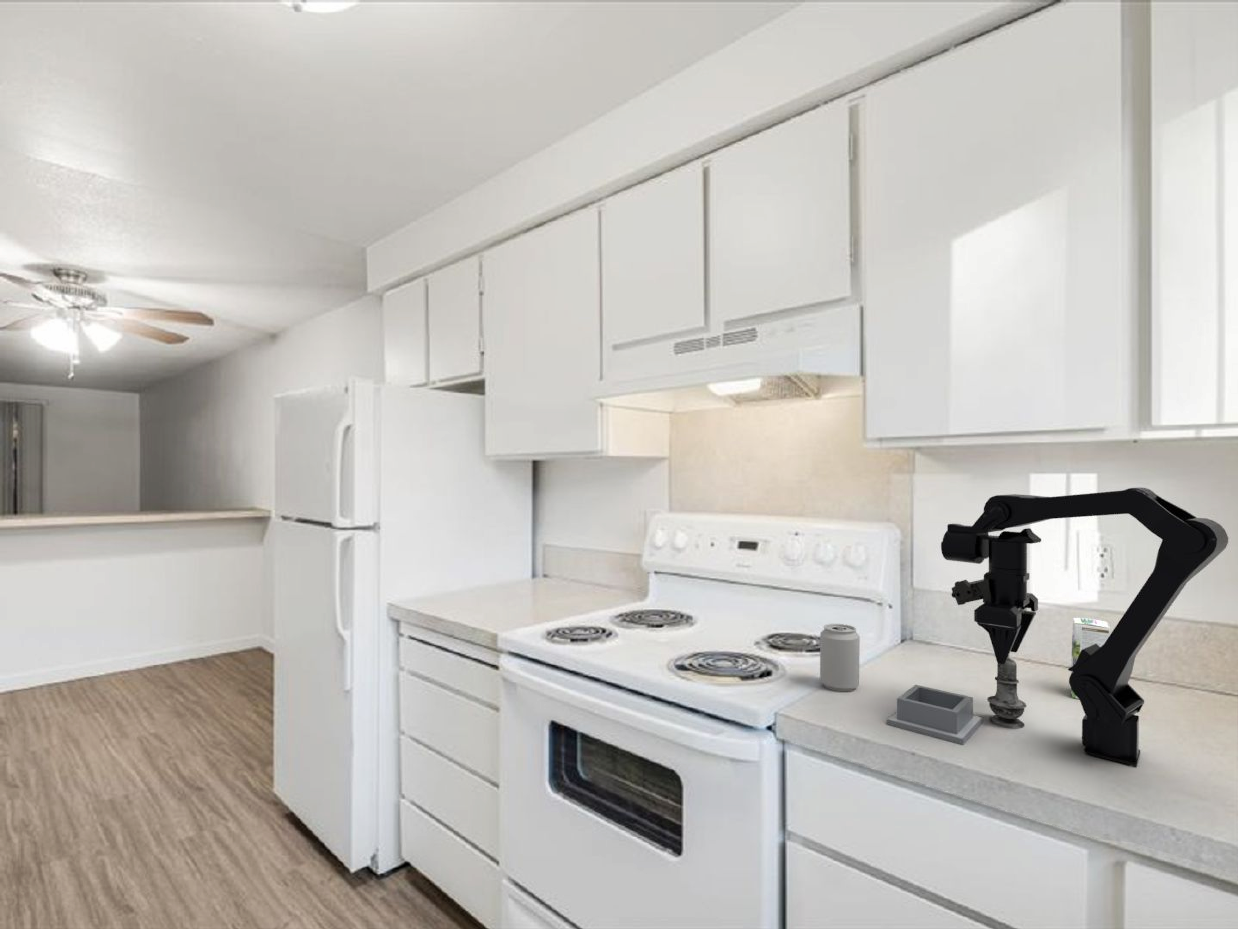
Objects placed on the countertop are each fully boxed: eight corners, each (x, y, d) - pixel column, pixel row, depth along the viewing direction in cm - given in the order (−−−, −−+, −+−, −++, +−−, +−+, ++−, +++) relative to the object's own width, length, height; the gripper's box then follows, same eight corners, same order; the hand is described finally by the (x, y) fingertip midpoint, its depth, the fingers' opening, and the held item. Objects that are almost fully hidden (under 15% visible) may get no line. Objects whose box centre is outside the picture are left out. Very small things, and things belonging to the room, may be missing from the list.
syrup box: (1070, 689, 131) (1070, 616, 131) (1106, 695, 128) (1107, 620, 128) (1072, 698, 126) (1073, 622, 126) (1110, 704, 123) (1111, 626, 123)
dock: (982, 722, 115) (982, 697, 114) (963, 744, 106) (963, 717, 106) (910, 705, 123) (910, 681, 122) (886, 724, 114) (887, 698, 114)
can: (855, 681, 136) (856, 622, 136) (862, 694, 128) (863, 632, 128) (817, 679, 137) (818, 621, 137) (822, 691, 130) (822, 630, 129)
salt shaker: (1032, 730, 111) (1032, 659, 111) (993, 727, 112) (994, 657, 112) (1018, 717, 117) (1019, 649, 117) (982, 714, 118) (982, 647, 118)
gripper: (970, 557, 127) (970, 638, 127) (941, 568, 113) (941, 660, 113) (1038, 563, 119) (1038, 649, 120) (1016, 576, 106) (1016, 674, 106)
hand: (1007, 657), depth 115 cm, fingers open, 9 cm apart
